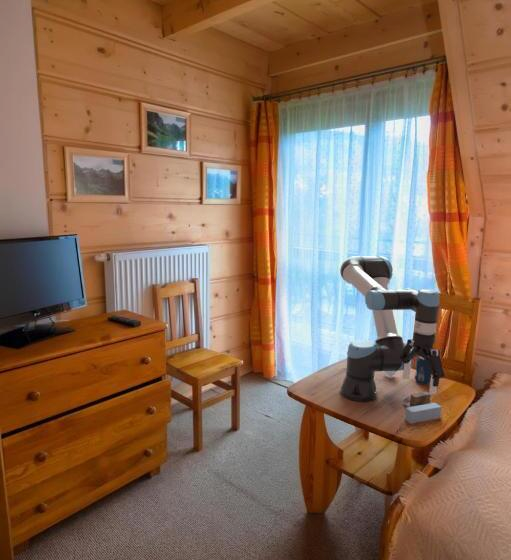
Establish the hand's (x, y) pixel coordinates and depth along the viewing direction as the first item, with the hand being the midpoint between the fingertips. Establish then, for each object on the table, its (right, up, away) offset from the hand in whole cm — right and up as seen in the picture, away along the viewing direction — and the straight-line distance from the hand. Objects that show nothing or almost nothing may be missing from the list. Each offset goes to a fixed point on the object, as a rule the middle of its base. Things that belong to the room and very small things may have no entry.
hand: (418, 386), depth 161 cm
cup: (+2, -6, +44) cm, 45 cm away
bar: (+3, -14, +4) cm, 15 cm away
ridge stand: (+5, -12, +13) cm, 18 cm away
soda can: (+16, -8, +38) cm, 42 cm away
